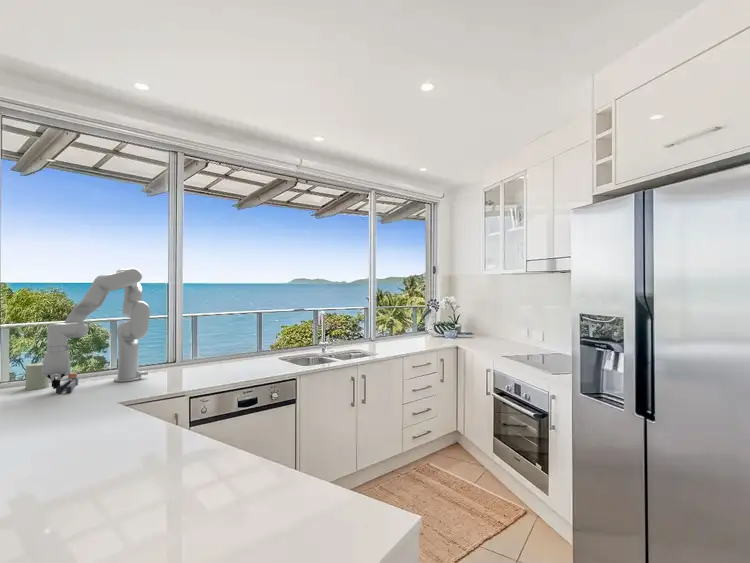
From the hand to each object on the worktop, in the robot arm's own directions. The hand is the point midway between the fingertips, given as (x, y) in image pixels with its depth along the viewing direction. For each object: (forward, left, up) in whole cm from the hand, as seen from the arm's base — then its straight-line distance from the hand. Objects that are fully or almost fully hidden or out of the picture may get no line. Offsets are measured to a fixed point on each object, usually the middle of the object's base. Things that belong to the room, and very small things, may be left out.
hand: (55, 388), depth 191 cm
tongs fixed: (-5, -5, -2) cm, 7 cm away
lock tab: (-5, -15, +2) cm, 16 cm away
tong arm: (-3, -2, -1) cm, 4 cm away
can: (+9, -15, -2) cm, 18 cm away
